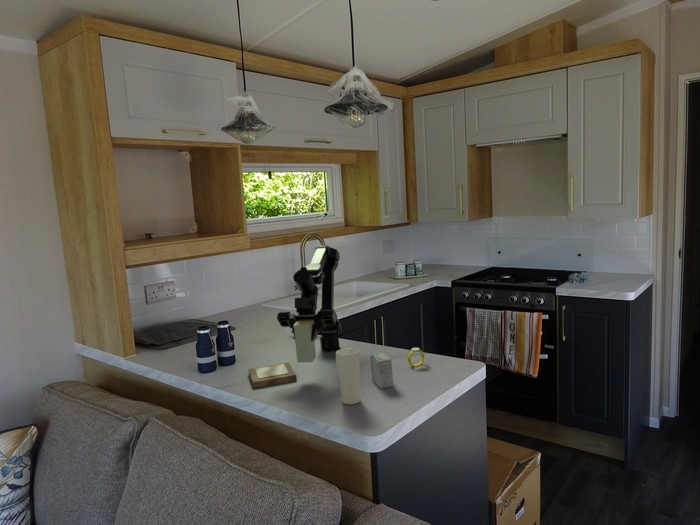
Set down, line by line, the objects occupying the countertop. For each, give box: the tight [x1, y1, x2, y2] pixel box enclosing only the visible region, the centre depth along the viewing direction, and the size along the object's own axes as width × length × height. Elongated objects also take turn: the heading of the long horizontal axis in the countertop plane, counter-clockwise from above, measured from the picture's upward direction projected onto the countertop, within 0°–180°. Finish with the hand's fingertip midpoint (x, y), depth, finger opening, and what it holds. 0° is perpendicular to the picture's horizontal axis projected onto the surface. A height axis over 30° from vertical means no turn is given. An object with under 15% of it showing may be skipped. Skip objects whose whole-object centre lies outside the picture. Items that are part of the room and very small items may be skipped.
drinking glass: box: [335, 347, 361, 405], centre depth 152 cm, size 7×7×15 cm
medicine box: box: [369, 352, 394, 389], centre depth 164 cm, size 8×4×9 cm, turn 17°
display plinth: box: [248, 362, 298, 389], centre depth 178 cm, size 14×14×2 cm
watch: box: [407, 347, 426, 368], centre depth 179 cm, size 6×3×6 cm, turn 118°
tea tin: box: [293, 321, 317, 363], centre depth 172 cm, size 5×5×12 cm
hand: (303, 341), depth 170 cm, fingers closed on tea tin, 5 cm apart
